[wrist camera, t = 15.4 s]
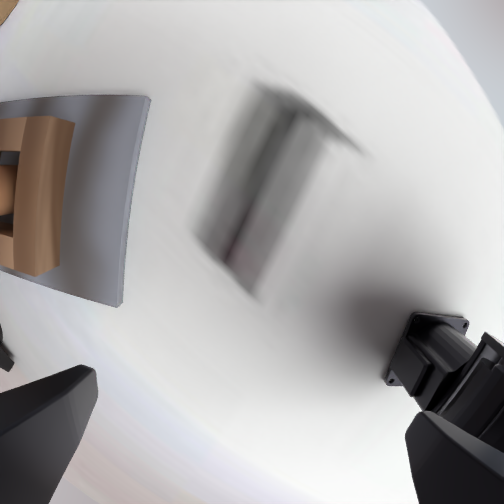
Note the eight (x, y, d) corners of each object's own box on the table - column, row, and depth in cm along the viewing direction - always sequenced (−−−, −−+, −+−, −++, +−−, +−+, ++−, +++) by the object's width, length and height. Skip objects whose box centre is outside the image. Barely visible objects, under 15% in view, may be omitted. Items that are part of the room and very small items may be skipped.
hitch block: (151, 100, 17) (128, 82, 13) (122, 302, 20) (98, 326, 16) (-24, 109, 16) (-51, 104, 12) (-36, 250, 19) (-63, 259, 15)
